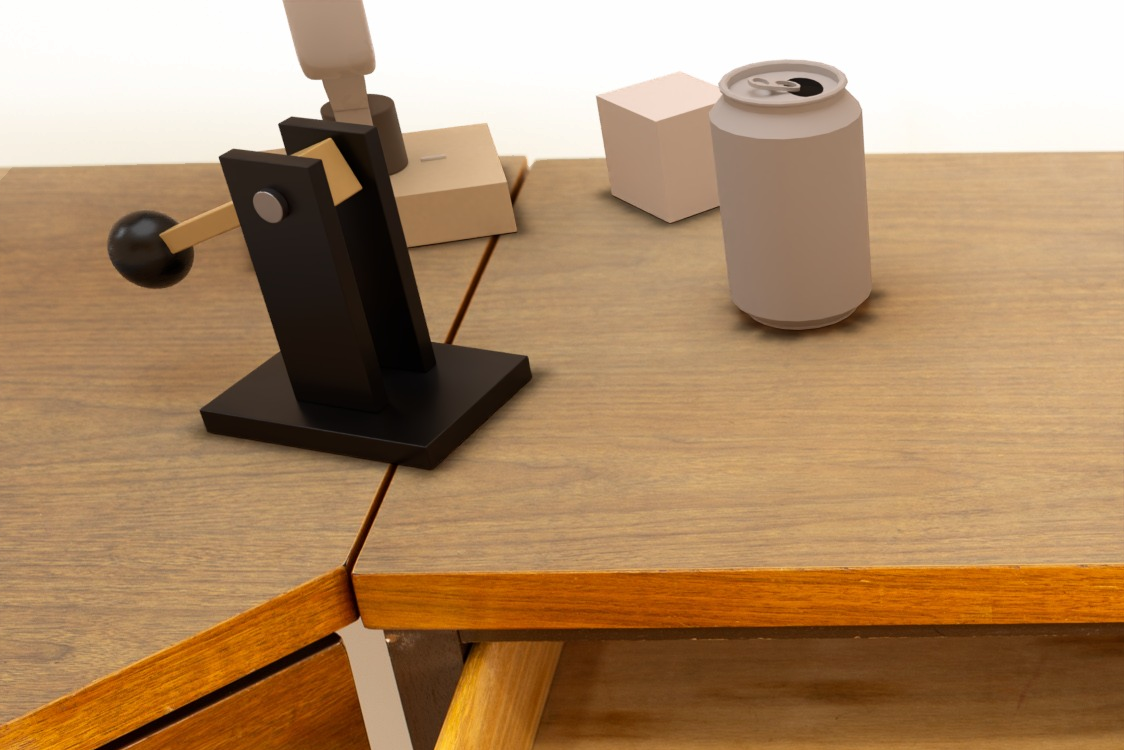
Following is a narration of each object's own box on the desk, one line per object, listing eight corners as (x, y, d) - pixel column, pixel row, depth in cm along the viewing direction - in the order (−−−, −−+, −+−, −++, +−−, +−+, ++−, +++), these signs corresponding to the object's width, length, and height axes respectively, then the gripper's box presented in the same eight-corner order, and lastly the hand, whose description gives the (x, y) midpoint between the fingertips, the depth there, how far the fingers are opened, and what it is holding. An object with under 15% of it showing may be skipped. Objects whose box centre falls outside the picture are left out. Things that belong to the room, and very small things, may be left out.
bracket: (206, 432, 74) (108, 164, 66) (322, 345, 80) (246, 92, 72) (432, 470, 71) (359, 196, 63) (532, 377, 78) (478, 118, 70)
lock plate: (260, 268, 87) (242, 214, 85) (258, 201, 95) (242, 150, 93) (517, 231, 91) (506, 178, 89) (497, 170, 99) (486, 119, 97)
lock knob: (410, 174, 90) (394, 107, 88) (337, 183, 89) (318, 116, 87) (406, 149, 93) (391, 84, 91) (335, 158, 92) (317, 92, 90)
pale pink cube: (611, 195, 95) (595, 95, 92) (692, 168, 99) (679, 70, 95) (670, 223, 92) (655, 121, 88) (751, 194, 95) (740, 94, 92)
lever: (125, 310, 74) (74, 240, 72) (177, 278, 77) (128, 209, 75) (332, 226, 68) (281, 147, 66) (380, 194, 70) (333, 118, 69)
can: (891, 322, 82) (880, 90, 75) (751, 347, 80) (725, 111, 73) (848, 265, 88) (834, 43, 80) (716, 287, 85) (688, 61, 78)
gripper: (364, -120, 74) (428, 167, 83) (339, -204, 89) (396, 47, 98) (220, -110, 72) (301, 183, 81) (219, -197, 87) (287, 58, 96)
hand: (352, 108), depth 89 cm, fingers open, 8 cm apart
